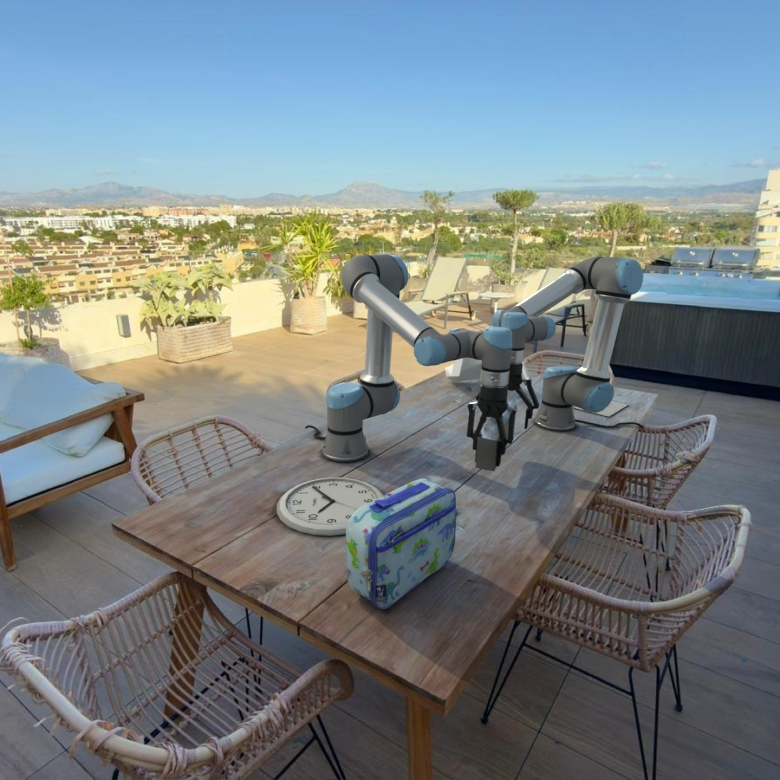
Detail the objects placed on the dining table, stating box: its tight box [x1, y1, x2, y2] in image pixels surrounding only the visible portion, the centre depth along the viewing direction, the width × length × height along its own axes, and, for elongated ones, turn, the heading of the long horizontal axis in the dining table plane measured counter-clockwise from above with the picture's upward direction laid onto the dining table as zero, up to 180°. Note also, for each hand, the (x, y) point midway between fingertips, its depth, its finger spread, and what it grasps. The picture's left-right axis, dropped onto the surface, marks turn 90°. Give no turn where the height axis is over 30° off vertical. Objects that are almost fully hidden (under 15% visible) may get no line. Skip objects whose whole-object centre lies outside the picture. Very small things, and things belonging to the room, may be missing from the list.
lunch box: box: [345, 477, 457, 610], centre depth 110 cm, size 26×11×21 cm, turn 134°
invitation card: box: [573, 400, 629, 418], centre depth 226 cm, size 21×1×15 cm
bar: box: [474, 401, 518, 472], centre depth 159 cm, size 34×5×9 cm, turn 158°
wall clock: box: [276, 476, 385, 537], centre depth 142 cm, size 30×2×30 cm
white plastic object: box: [444, 309, 531, 383], centre depth 249 cm, size 37×45×31 cm
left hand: (487, 462), depth 149 cm, fingers closed on bar, 5 cm apart
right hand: (505, 424), depth 172 cm, fingers open, 13 cm apart
